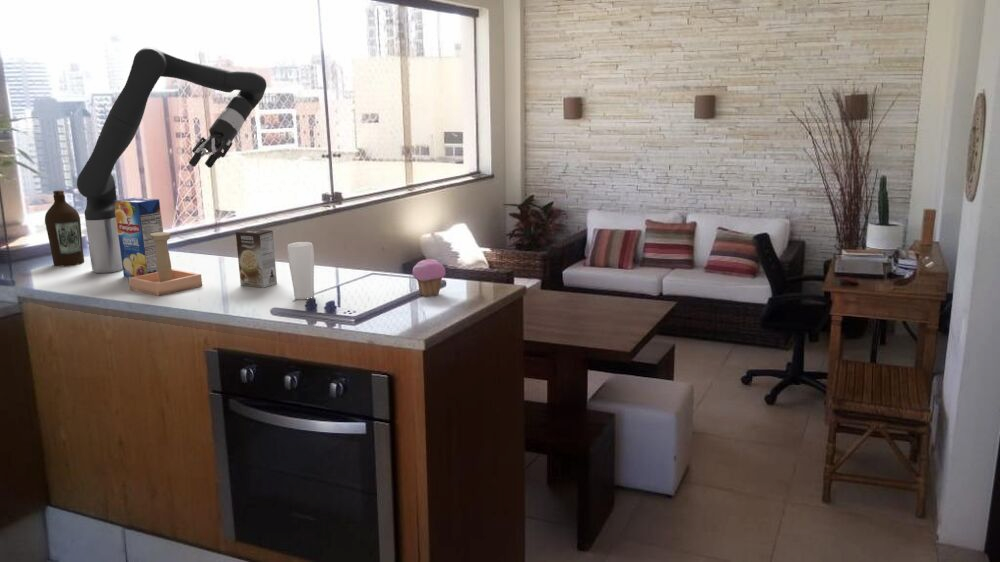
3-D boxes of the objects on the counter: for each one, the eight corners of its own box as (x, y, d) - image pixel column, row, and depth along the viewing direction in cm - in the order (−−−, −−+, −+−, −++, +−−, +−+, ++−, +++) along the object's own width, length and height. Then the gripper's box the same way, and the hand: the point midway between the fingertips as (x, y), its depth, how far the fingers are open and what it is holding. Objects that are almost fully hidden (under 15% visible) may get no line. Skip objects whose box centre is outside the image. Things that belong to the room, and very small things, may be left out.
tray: (130, 289, 240) (128, 277, 240) (173, 280, 251) (172, 268, 251) (158, 295, 232) (157, 283, 231) (202, 285, 243) (201, 274, 242)
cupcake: (441, 290, 229) (439, 254, 227) (450, 296, 221) (448, 260, 219) (410, 293, 226) (408, 258, 224) (418, 300, 218) (416, 263, 216)
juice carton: (123, 276, 258) (113, 200, 253) (144, 271, 265) (134, 197, 259) (148, 280, 252) (138, 202, 247) (168, 275, 259) (159, 199, 253)
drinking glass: (304, 302, 220) (299, 247, 217) (286, 299, 224) (281, 245, 220) (322, 296, 226) (318, 242, 222) (304, 293, 229) (300, 241, 226)
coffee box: (239, 285, 242) (233, 231, 238) (254, 280, 247) (249, 228, 244) (264, 288, 238) (258, 233, 234) (278, 283, 243) (273, 229, 240)
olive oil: (47, 264, 282) (36, 191, 276) (80, 259, 289) (69, 188, 283) (57, 268, 274) (45, 193, 268) (90, 263, 281) (80, 190, 276)
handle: (164, 287, 238) (157, 236, 234) (153, 284, 242) (146, 234, 238) (179, 283, 241) (173, 233, 238) (168, 281, 245) (162, 231, 242)
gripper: (205, 117, 262) (177, 157, 256) (233, 117, 254) (204, 158, 248) (221, 133, 268) (194, 172, 261) (249, 134, 259) (221, 174, 253)
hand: (199, 165), depth 255 cm, fingers open, 8 cm apart
